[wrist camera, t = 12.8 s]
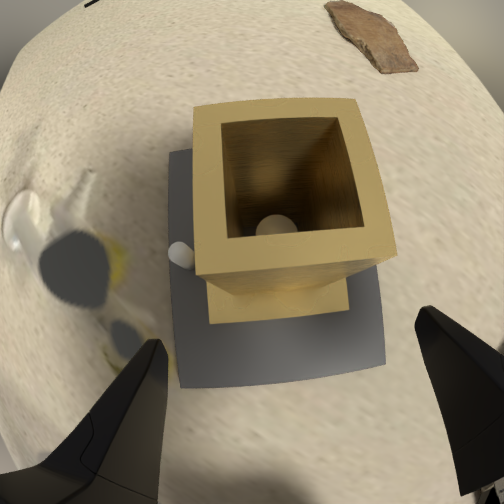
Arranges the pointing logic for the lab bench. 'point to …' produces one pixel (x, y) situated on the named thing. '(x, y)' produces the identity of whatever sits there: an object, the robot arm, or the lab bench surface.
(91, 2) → the electrical cable
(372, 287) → the base plate
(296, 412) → the lab bench surface
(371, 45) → the pottery shard
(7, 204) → the lab bench surface
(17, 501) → the robot arm
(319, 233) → the brass sleeve
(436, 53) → the lab bench surface
